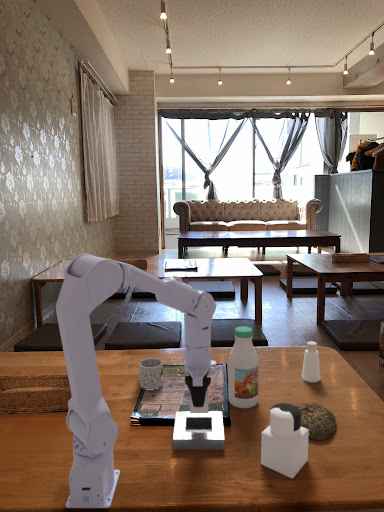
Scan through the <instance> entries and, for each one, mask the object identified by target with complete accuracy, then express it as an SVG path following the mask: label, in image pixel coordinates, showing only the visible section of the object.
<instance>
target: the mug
mask: <svg viewBox="0 0 384 512" xmlns="http://www.w3.org/2000/svg"><path fill="white" fill-rule="evenodd" d="M163 363H164V362H163V360H161V359H160V358H156V357H154V358H153V357H149V358H144V359H142V360H141V361H140V362H139V363H138V365H139V367H138V368H139V370H138V371H139V387H140V388H141V389H142V388H145V389H156V388H159V387H161V386H162V385H163V386H164V368H163V367H164V366H163ZM163 386H162V387H163ZM162 387H161V388H162ZM159 389H160V388H159Z"/></svg>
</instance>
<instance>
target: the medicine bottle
mask: <svg viewBox="0 0 384 512" xmlns="http://www.w3.org/2000/svg"><path fill="white" fill-rule="evenodd" d="M269 413H270V414H269V425H268V426H267V427H266V428H265V429H264V430H262V431H261V433H260V435H261V436H260V464H261V465H262V466H263V467H266V468H268V469H270V470H272V471H275V472H277V473H279V474H281V475H283V476H285V477H288V478H290V479H294V478H295V477H296V475H297V474H298V473H299V472H300V470H301V469H302V468H303V467H304V466H305V465H306V463H307V462H308V459H309V458H308V457H309V437H308V436H309V430H308V429H306V428H304V427H301V411H300V410H299V409H298V408H297V407H296V405H294V404H292V403H286V402H285V403H284V402H282V403H281V402H280V403H276V404H274V405H273V406H271V408H270V410H269Z"/></svg>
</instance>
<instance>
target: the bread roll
mask: <svg viewBox="0 0 384 512" xmlns="http://www.w3.org/2000/svg"><path fill="white" fill-rule="evenodd" d="M295 406H296V407H297V408H298V409H299V410H300V411H301V427H304V428H306V429H308V430H309V436H308V439H309V438H310V439H312V440H316V441H323V440H326V439H327V438H329V437H331V435H332V434H333V432H335V430H336V429H335V428H336V422H337V419H336V417H335V415H334V413H333V412H332V411H331V410H330V409H329V408H326V407H325V406H323V405H320V404H318V403H316V402H315V403H313V402H312V403H306V402H305V403H303V402H302V403H300V404H296V405H295Z"/></svg>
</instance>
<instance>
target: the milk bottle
mask: <svg viewBox="0 0 384 512" xmlns="http://www.w3.org/2000/svg"><path fill="white" fill-rule="evenodd" d="M253 333H254V332H253V328H251V327H249V326H243V325H242V326H241V325H240V326H237V327H235V328H234V338H235V341H234V344H233V346H232V349H231V350H230V353H229V357H228V370H227V371H228V374H227V375H228V378H227V379H228V381H227V382H228V390H227V391H228V393H227V394H228V395H227V396H228V401H229V403H230V405H232V406H233V407H234V408H238V409H250V408H253V407H256V406H257V404H258V402H259V358H258V354H257V351H256V350H255V347H254V344H253V340H252V339H253V338H254V337H253V335H254V334H253Z"/></svg>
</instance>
